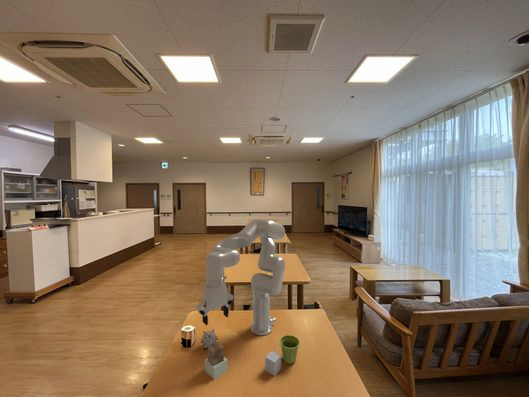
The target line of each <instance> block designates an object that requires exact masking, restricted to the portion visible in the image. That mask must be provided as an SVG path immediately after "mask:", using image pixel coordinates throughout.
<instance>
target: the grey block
mask: <svg viewBox="0 0 529 397" xmlns="http://www.w3.org/2000/svg"><path fill="white" fill-rule="evenodd" d="M264 359H265V360H264V366H265V367H264V371H265V372H267V373H269V374H271V375H272V376H276V375H277V374H278V373H279V372H280V371H281V369H282V355H281V354H279V353H277V352H275V351H273V350H271V351H269V353H268V354H267V355H265V358H264Z"/></svg>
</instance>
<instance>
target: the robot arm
mask: <svg viewBox="0 0 529 397" xmlns="http://www.w3.org/2000/svg"><path fill="white" fill-rule="evenodd" d="M285 235H286V229H285V227H284V225H282V224H281V223H278V222H275V221H273V220H270V219H260V218H256V219H252V220H251V221H250V222H249V223H248V224H246V226H245V227H243V229H242V230H240V231H239V232H238V233H235V234H233V235H230V236H228V237H225V238H224V239H222V240H220V241H219V242H218V243H217V244H216V245H215V246H214V247H213V248H212V250H211V251H210V252H208V253H207V254H206V257H205V258H206V259H205V261H206V262H205V267H206V268H205V270H206V271H205V272H206V274H205V275H206V283H205V285H204V287H203V288H204V289H203V294H202V301H200V303H199V304H198V305H196V306H195V309H196V310H197V311H198V313H199V314H200V315H201V316H202V323H203V324H204V325H205V326H208V325H209V316H208V313H209V312H210V311H213V310H215V309H220V308H221V307H222V308H223V309H222V310H223V313H222V314H223V316H224V317H226V318H228V317H229V314H230V312H229V309H230V307H231V304H232V303H233V299H234V294H230V293H228V289H227V285H226V282H225V281H226V279H228V276H227V275H225V268H231V267H234V266H236V265H237V264H238V263H239V262H240V259H241V254H240V252H239V251H237V250H236V249H243V248H246V247H250V246H251V245H252V244H253V243H254V242H255V241H256V240H257V239H258V238H259V239H260V242H261V247H260V251H259V256H258V261H257V267H258V269H259V270H261V271H263V272H267V273H270V274H272V275H270V274H267V273H263V272H257V273H254V274H253V275H252V276H251V279H250V284H251V285H250V286H251V291H252V300H253V301H252V323H251V324H250V327H249V328H250V331H251V333H253V334H254V335H257V336H265V335H266V336H267V335H269V334H270V333H271V332H272V331H273V322H274V323H275V322H277V317H273V318H272V316H270V315H271V314H270V313H271V308H270V306H271V298H270V297H271V296H270V295H273V296H276V295H277V296H278V294H280V293H281V290H282V286H283V282H284V281H283V280H284V276H285V269H286V262H285V261H286V260H284V258H283V257H282V256H278V255H276V250H277V248H276V243H275V241H274V240H278V241H279V240H283V238H284V237H285Z"/></svg>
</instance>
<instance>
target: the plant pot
mask: <svg viewBox="0 0 529 397" xmlns="http://www.w3.org/2000/svg"><path fill="white" fill-rule="evenodd" d="M300 344H301V341H300V339H299V337H297V336H295V335H292V334H285V335H282V336H281V337H280V338H279V345H280V347H281V354H282V355H281V356H282V360H283V362H284V363H285V364H288V365H292V364H294V363H296V361H297V354H298V349H299V346H300Z"/></svg>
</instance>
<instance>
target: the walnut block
mask: <svg viewBox="0 0 529 397" xmlns="http://www.w3.org/2000/svg"><path fill="white" fill-rule="evenodd" d="M224 357H225V356H224V346H223V345H222V344H221V343H220V342H219V341H216V342H215V343H214V344H211V345H209V346H208V348H207V358H208V360H209V361H210V363H211V364H212V365H213V366H214V365H216V364H218V363H220V362H222V361H224Z"/></svg>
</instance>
